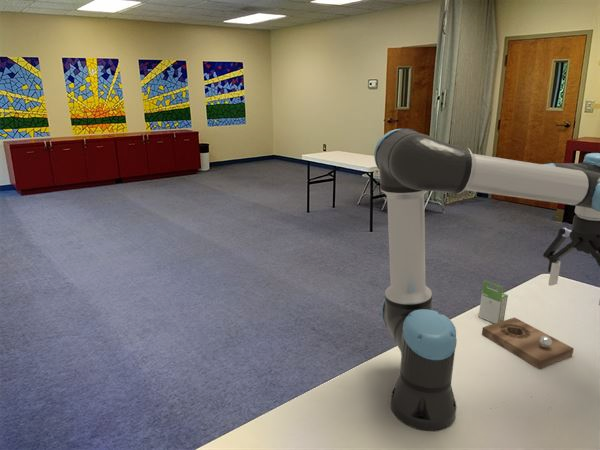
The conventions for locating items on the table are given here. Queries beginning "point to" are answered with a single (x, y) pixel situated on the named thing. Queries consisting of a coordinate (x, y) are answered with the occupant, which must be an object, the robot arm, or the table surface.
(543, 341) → the ball
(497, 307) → the ink box
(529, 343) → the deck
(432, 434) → the table surface
